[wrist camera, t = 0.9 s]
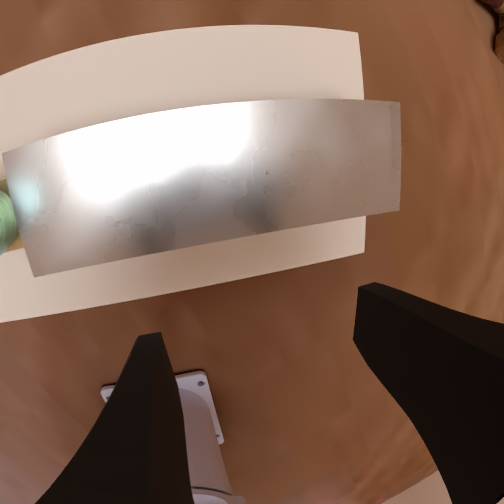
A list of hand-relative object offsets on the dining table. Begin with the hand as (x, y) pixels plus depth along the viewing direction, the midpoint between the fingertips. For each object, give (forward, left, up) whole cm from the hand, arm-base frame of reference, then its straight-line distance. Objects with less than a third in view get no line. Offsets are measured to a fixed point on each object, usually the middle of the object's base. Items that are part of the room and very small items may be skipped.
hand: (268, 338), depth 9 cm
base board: (+4, +8, -10) cm, 14 cm away
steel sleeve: (+4, 0, -9) cm, 10 cm away
